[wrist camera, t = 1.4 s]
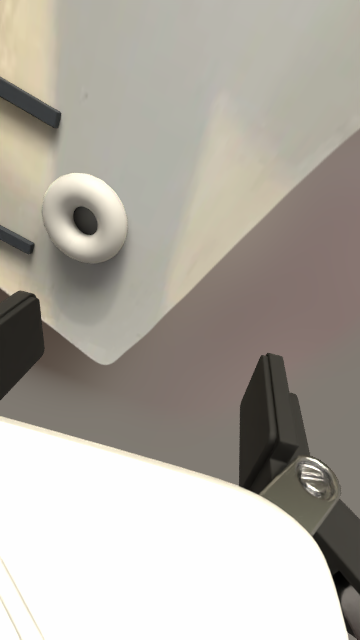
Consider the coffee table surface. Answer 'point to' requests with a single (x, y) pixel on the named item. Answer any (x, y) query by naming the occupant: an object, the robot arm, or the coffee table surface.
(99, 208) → the donut
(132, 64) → the coffee table surface
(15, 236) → the frame
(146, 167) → the coffee table surface
